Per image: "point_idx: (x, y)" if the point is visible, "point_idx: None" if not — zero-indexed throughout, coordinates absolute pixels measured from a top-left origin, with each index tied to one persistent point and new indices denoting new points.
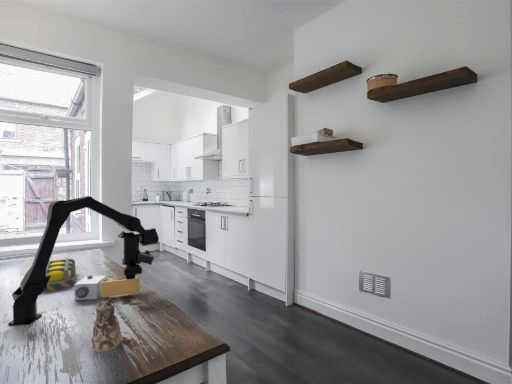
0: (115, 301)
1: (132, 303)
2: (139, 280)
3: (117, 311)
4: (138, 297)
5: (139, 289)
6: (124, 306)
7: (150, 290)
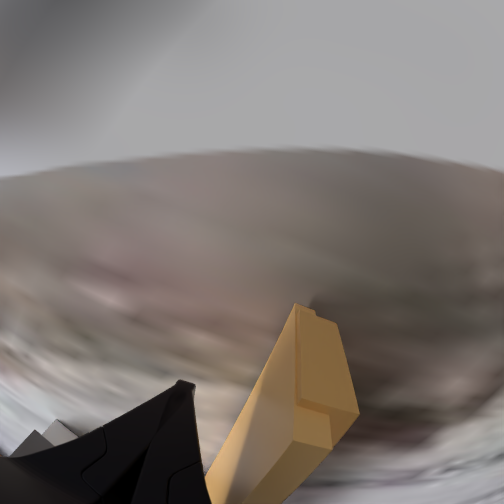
0: (331, 475)
1: (471, 404)
2: (318, 409)
3: (479, 467)
4: (404, 345)
5: (337, 338)
6: (463, 444)
7: (284, 156)
